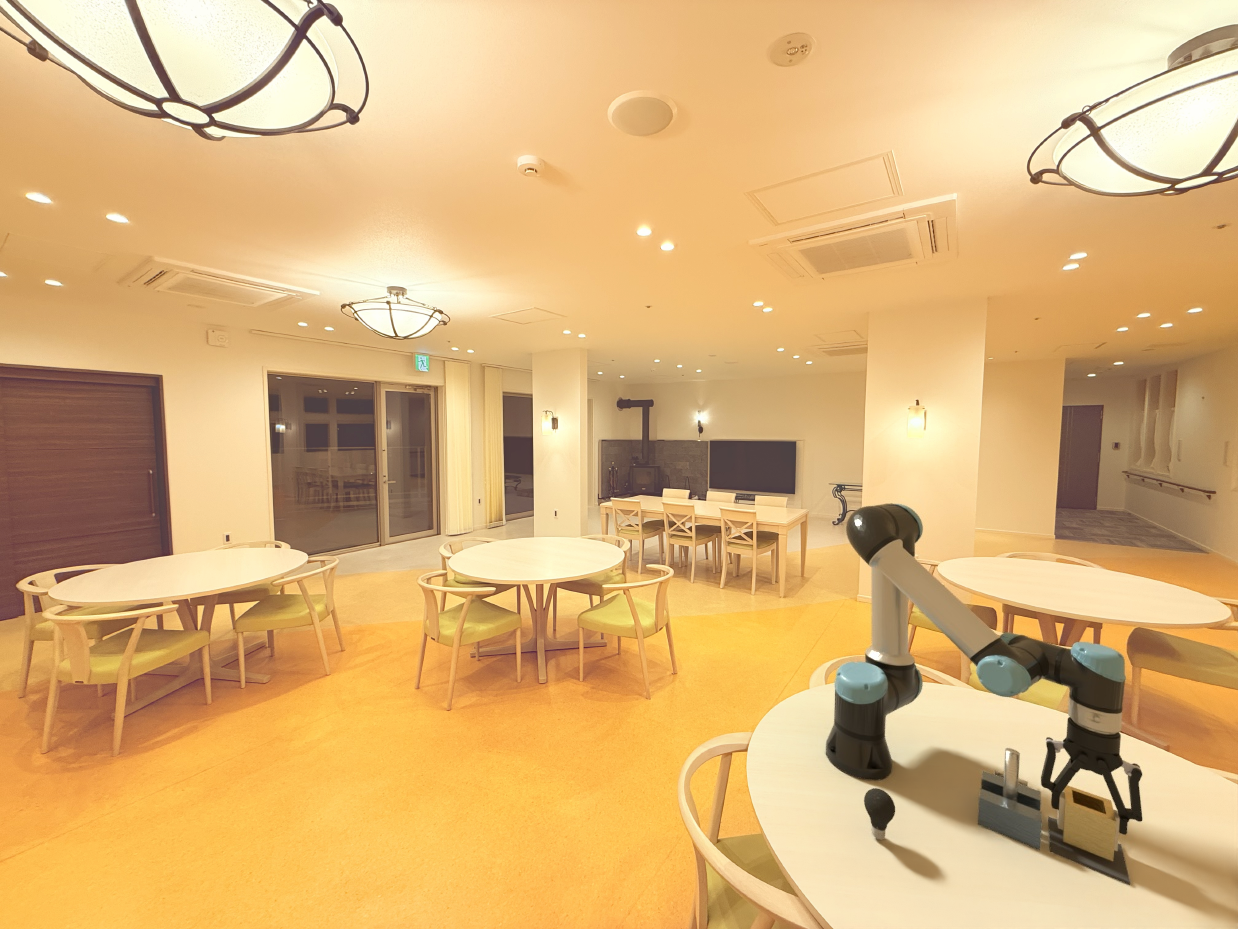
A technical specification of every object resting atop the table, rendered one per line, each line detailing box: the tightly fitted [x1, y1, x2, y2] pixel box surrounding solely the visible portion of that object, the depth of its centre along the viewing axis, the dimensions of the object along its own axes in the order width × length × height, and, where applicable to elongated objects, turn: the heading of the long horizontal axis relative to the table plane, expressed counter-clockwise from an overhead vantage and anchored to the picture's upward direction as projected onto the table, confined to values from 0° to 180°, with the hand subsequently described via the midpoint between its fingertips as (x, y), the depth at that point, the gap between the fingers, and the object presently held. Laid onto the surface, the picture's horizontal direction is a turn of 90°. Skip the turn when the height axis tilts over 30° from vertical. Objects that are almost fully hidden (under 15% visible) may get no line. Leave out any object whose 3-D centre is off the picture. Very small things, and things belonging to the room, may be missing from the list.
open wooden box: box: [1062, 784, 1116, 861], centre depth 96 cm, size 7×7×8 cm
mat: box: [1047, 816, 1131, 886], centre depth 96 cm, size 11×11×1 cm
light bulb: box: [863, 787, 896, 841], centre depth 98 cm, size 6×6×10 cm
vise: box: [977, 747, 1043, 852], centre depth 106 cm, size 10×18×16 cm, turn 140°
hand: (1086, 835), depth 96 cm, fingers closed on open wooden box, 7 cm apart
